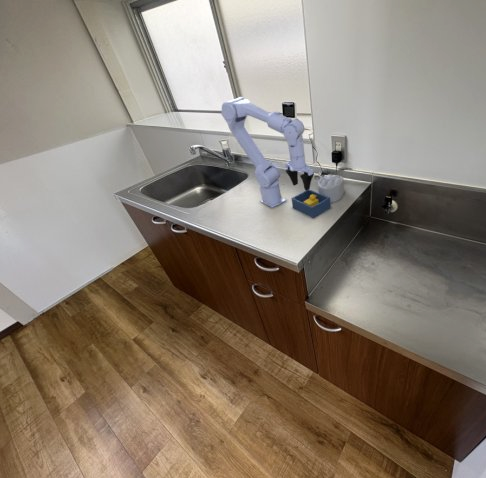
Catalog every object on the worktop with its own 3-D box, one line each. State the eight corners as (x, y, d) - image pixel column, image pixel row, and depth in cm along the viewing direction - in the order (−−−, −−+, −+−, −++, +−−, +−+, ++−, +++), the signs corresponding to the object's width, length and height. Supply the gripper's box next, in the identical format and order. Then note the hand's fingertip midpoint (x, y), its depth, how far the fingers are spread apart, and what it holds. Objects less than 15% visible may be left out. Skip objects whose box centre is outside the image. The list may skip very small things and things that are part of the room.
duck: (303, 208, 107) (302, 196, 104) (313, 202, 110) (312, 191, 107) (310, 211, 105) (308, 199, 101) (320, 205, 107) (319, 194, 104)
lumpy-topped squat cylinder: (346, 190, 116) (345, 173, 111) (335, 204, 107) (335, 186, 102) (325, 188, 121) (324, 171, 115) (314, 201, 112) (312, 183, 107)
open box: (292, 208, 109) (291, 198, 106) (309, 198, 114) (308, 189, 111) (313, 218, 101) (312, 208, 98) (330, 208, 106) (330, 197, 103)
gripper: (277, 154, 98) (283, 185, 106) (301, 162, 89) (305, 195, 97) (291, 149, 101) (295, 179, 110) (315, 155, 92) (318, 188, 101)
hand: (301, 187), depth 104 cm, fingers open, 7 cm apart
